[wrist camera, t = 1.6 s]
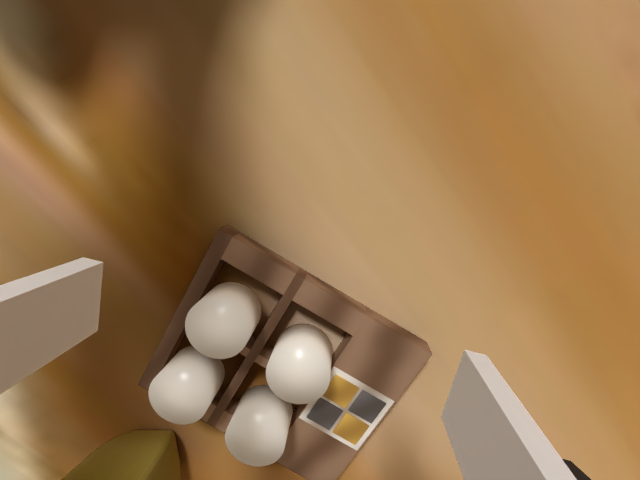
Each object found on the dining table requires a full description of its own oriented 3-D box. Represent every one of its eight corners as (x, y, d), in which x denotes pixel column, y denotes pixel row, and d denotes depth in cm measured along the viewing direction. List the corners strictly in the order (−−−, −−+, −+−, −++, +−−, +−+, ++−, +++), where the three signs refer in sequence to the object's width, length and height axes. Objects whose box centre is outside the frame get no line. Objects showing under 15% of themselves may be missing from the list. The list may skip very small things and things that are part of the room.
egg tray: (150, 371, 39) (136, 385, 37) (227, 225, 35) (217, 229, 32) (329, 472, 40) (327, 493, 38) (426, 342, 36) (432, 355, 33)
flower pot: (130, 476, 43) (75, 555, 34) (116, 415, 41) (54, 483, 32) (197, 476, 42) (158, 558, 33) (186, 415, 40) (141, 484, 32)
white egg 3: (265, 357, 34) (254, 383, 30) (293, 313, 33) (285, 334, 29) (314, 385, 34) (309, 415, 30) (343, 342, 33) (342, 367, 29)
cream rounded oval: (230, 415, 36) (214, 447, 32) (254, 375, 35) (242, 403, 31) (276, 441, 36) (267, 476, 32) (302, 402, 35) (296, 434, 31)
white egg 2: (163, 377, 36) (139, 405, 32) (185, 336, 34) (163, 359, 30) (210, 404, 36) (192, 434, 32) (234, 363, 35) (218, 390, 30)
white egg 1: (195, 317, 34) (174, 338, 30) (220, 271, 33) (201, 286, 28) (244, 345, 34) (230, 370, 30) (271, 300, 33) (260, 320, 29)
